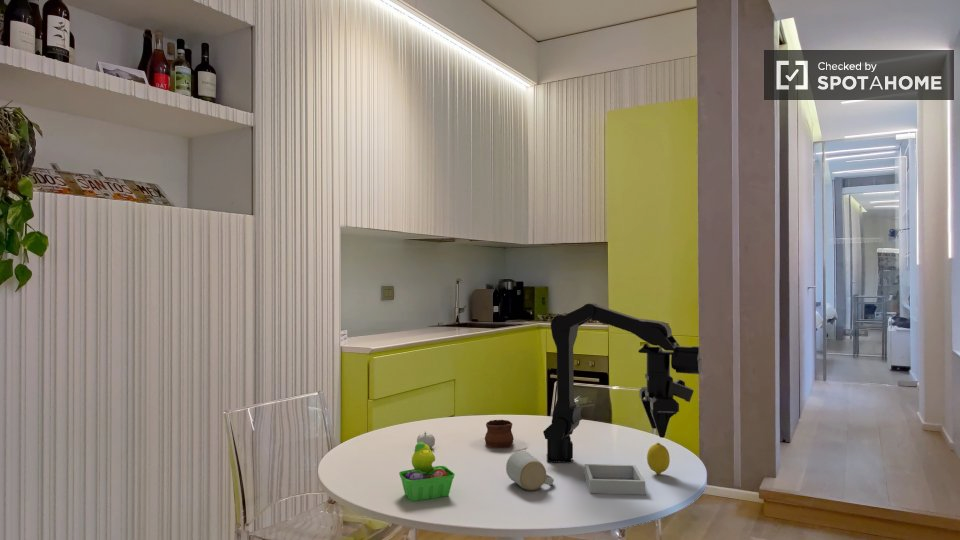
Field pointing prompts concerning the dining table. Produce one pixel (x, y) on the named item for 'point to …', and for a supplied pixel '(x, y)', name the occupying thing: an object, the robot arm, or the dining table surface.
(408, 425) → the dining table surface
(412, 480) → the fruit basket
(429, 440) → the garlic
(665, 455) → the lemon
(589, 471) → the corral
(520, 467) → the ceramic mug
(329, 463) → the dining table surface
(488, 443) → the ceramic pot
